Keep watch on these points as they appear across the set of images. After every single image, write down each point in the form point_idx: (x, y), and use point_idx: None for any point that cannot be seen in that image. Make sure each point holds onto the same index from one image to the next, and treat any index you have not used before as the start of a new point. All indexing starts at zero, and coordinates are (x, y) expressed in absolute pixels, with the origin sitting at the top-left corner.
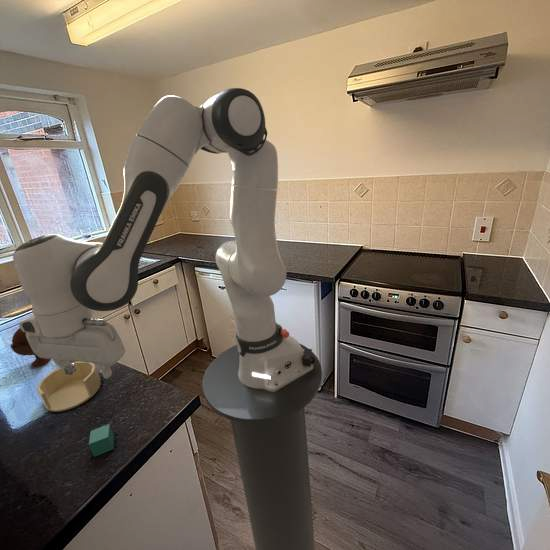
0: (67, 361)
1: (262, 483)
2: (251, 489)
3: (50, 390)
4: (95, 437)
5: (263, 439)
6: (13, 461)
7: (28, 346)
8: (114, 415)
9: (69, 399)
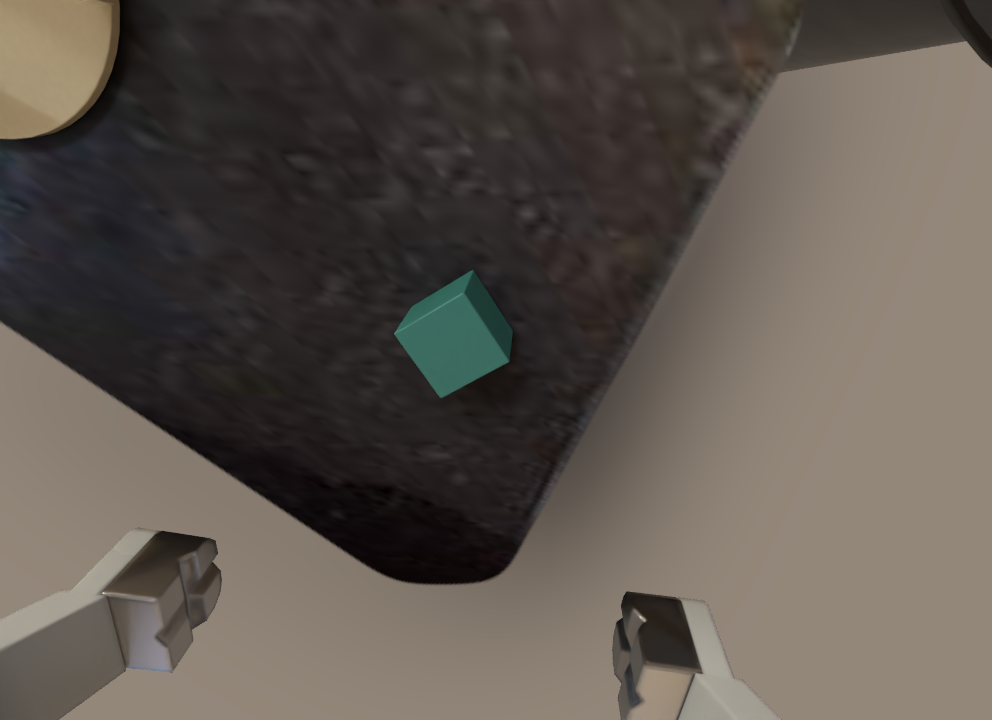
0: (55, 646)
1: (845, 56)
2: None
3: None
4: (448, 367)
5: None
6: (139, 390)
7: None
8: (382, 142)
9: (6, 46)
